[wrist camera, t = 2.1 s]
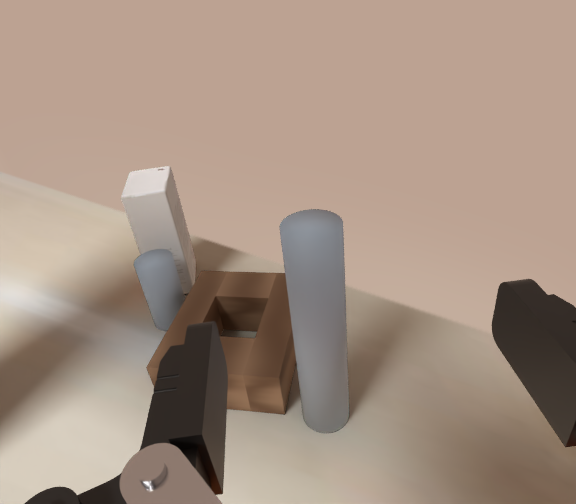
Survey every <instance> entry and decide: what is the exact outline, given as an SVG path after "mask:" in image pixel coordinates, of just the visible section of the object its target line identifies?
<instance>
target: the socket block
mask: <svg viewBox="0 0 576 504" xmlns="http://www.w3.org/2000/svg"><path fill="white" fill-rule="evenodd" d="M212 321H215V323H216V325H217V328H218V332H219V336H220V340H221V344H222V347H223V351H224V355H225V359H226V364H227V372H228V390H227V409H234V410H244V411H255V412H265V413H276V414H285V411H286V406H287V402H288V397H289V393H290V388H291V383H292V379H293V374H294V369H295V365H296V355H295V347H294V339H293V331H292V323H291V315H290V307H289V299H288V291H287V283H286V275H285V273H256V272H223V271H201V273H200V274H199V276H198V278H197V280H196V281H195V283H194V285H193V287H192V288H191V290H190V292H189V294H188V295H187V297H186V299H185V301H184V302H183V304H182V306H181V308H180V309H179V311H178V313H177V315H176V316H175V318H174V320H173V322H172V324H171V325H170V327H169V329H168V331H167V332H166V334H165V336H164V338H163V339H162V341H161V343H160V345H159V346H158V348H157V350H156V352H155V353H154V355H153V357H152V359H151V360H150V362H149V364H148V366H147V367H146V368H147V370H148V373H149V375H150V378H151V380H152V383H153V385H154V386H155V382H156V381H157V373H158V368H159V364H160V361H161V359H162V358H163V356H164V355H165V354H166V352H167V351H168V349H169V348H170V346H175V345H182V344H184V341H185V336H186V330H187V326H188V325H190V324H198V323H205V322H212ZM224 329H226V330H243V331H257V334H256V337H255V338H241V337H224V336H221V334H222V332H223V330H224Z"/></svg>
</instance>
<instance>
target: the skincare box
mask: <svg viewBox="0 0 576 504" xmlns="http://www.w3.org/2000/svg"><path fill="white" fill-rule="evenodd" d="M121 200H122V202H123V206H124V209H125V211H126V214H127V217H128V220H129V223H130V226H131V229H132V231H133V234H134V237H135V240H136V243H137V246H138V249H139V252H140V254H143V253H145V252H148V251H151V250H155V249H166V250H169V251H170V252H171V253H172V255H173V258H174V262H175V265H176V268H177V272H178V275H179V279H180V282H181V286H182V289H183V292H184V294H188V293H189V292H190V290H191V288H192V287H193V285H194V283H195V274H196V258H195V255H194V251H193V247H192V243H191V240H190V236H189V232H188V229H187V225H186V222H185V218H184V214H183V211H182V207H181V203H180V199H179V195H178V192H177V188H176V184H175V180H174V176H173V173H172V170H171V167H170V166H166V167H159V168H152V169H145V170H138V171H133V172H130V173H129V176H128V178H127V181H126V185H125V188H124V190H123V193H122V196H121Z"/></svg>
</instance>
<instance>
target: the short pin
mask: <svg viewBox="0 0 576 504" xmlns="http://www.w3.org/2000/svg"><path fill="white" fill-rule="evenodd" d="M134 267H135V270H136V273H137V275H138V278H139V281H140V284H141V287H142V289H143V292H144V295H145V298H146V301H147V304H148V306H149V309H150V312H151V315H152V318H153V320H154V323H155V326H156V327H157V328H158V329H160V330H163V331H168V329H169V327H170V325H171V324H172V322H173V320H174V318H175V316H176V315H177V313H178V311H179V309H180V308H181V306H182V304H183V302H184V301H185V296H184V292H183V289H182V286H181V282H180V279H179V275H178V272H177V268H176V265H175V262H174V258H173V255H172V253H171V252H170V251H169V250H166V249H155V250H151V251H148V252H145V253H143V254H141V255H140V256H139V257H137V259H136V260H135V261H134Z"/></svg>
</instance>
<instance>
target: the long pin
mask: <svg viewBox="0 0 576 504" xmlns="http://www.w3.org/2000/svg"><path fill="white" fill-rule="evenodd" d="M280 235H281V243H282V251H283V259H284V267H285V275H286V283H287V291H288V299H289V307H290V315H291V323H292V331H293V339H294V347H295V355H296V363H297V371H298V379H299V387H300V395H301V403H302V411H303V418H304V421H305V422H306V424H307V425H308V426H309V427H310V428H311V429H313V430H314V431H317V432H320V433H332V432H336V431H338V430H340V429H341V428H342V427H343V426H344V425H345V424H346V423H347V421H348V418H349V390H348V360H347V329H346V299H345V269H344V238H343V221H342V219H341V218H340V216H338V215H337V214H335V213H333V212H330V211H327V210H319V209H317V210H316V209H313V210H312V209H311V210H303V211H299V212H296V213H293V214H291V215H289V216H287V217H286V218H285V219H284V220H283V221H282V222H281V224H280Z"/></svg>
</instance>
